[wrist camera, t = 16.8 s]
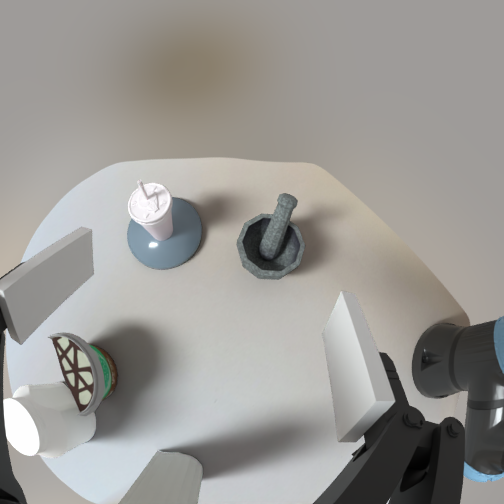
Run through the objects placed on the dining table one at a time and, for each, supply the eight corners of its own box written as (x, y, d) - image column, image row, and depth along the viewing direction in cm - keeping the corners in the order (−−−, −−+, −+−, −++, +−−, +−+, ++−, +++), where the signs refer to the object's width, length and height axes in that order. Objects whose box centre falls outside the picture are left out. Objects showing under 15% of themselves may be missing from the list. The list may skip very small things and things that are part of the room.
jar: (40, 414, 31) (-11, 424, 17) (52, 374, 35) (-3, 374, 21) (89, 451, 31) (44, 478, 17) (102, 410, 34) (55, 429, 20)
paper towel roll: (209, 478, 32) (200, 557, 12) (174, 484, 31) (145, 559, 11) (192, 443, 34) (167, 511, 14) (157, 450, 33) (110, 513, 13)
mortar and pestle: (282, 296, 44) (302, 276, 33) (227, 276, 44) (228, 249, 33) (301, 236, 48) (323, 201, 37) (251, 217, 48) (259, 177, 37)
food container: (137, 396, 36) (113, 407, 26) (107, 407, 34) (78, 418, 25) (106, 326, 39) (78, 318, 30) (78, 339, 38) (46, 333, 28)
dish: (181, 188, 49) (180, 185, 48) (216, 244, 46) (215, 242, 45) (119, 222, 46) (117, 219, 44) (148, 283, 42) (146, 282, 41)
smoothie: (166, 206, 46) (149, 155, 33) (188, 232, 45) (176, 184, 32) (137, 229, 44) (109, 183, 31) (158, 256, 43) (133, 216, 30)
